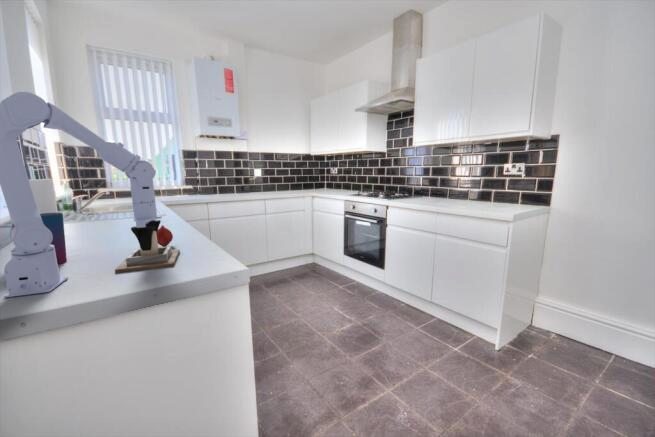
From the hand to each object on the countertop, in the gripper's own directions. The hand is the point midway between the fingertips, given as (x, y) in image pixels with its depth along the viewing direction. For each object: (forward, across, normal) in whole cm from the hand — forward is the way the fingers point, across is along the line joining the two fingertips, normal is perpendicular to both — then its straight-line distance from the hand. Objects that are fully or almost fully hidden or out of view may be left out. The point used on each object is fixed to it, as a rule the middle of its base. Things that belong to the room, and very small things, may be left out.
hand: (149, 247), depth 87 cm
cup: (+5, +10, +27) cm, 29 cm away
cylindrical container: (+5, +19, +32) cm, 38 cm away
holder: (+4, 0, 0) cm, 4 cm away
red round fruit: (+5, +18, -1) cm, 19 cm away
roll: (+3, 0, 0) cm, 3 cm away
